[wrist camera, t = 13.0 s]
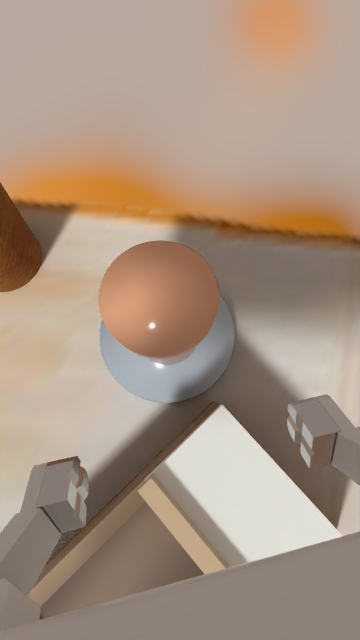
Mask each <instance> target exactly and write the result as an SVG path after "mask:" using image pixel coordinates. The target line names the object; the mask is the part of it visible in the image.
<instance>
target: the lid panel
mask: <svg viewBox="0 0 360 640" xmlns="http://www.w3.org/2000/svg"><path fill="white" fill-rule="evenodd" d="M138 492H139V494H140V495H141V496H142V497H143V499H144V500H145V501H146V502H147V504H148V505H149V506H150V507H151V509H152V510H153V511H154V512H155V514H156V515H157V516H158V517H159V518H160V520H161V521H162V522H163V523H164V525H165V526H166V527H167V528H168V530H169V531H170V532H171V533H172V535H173V536H174V537H175V538H176V540H177V541H178V542H179V543H180V545H181V546H182V547H183V548H184V549H185V551H186V552H187V553H188V554H189V556H190V557H191V558H192V559H193V561H194V562H195V563H196V564H197V566H198V567H199V568H200V569H201V571H202V572H203V573H204V574H208V573H211V572H215V571H219V570H222V569H226V568H230V567H233V566H237V565H240V564H244V563H248V562H251V561H255V560H259V559H262V558H266V557H270V556H273V555H277V554H280V553H284V552H288V551H291V550H295V549H299V548H302V547H306V546H310V545H313V544H317V543H321V542H324V541H328V540H331V539H335V538H339V537H342V534H341V533H340V532H339V531H338V530H337V529H336V528H335V527H334V526H333V525H332V524H331V522H330V521H329V520H328V519H327V518H326V517H325V516H324V515H323V514H322V513H321V512H320V510H319V509H318V508H317V507H316V506H315V505H314V504H313V503H312V502H311V501H310V500H309V498H308V497H307V496H306V495H305V494H304V493H303V492H302V491H301V490H300V489H299V488H298V487H297V485H296V484H295V483H294V482H293V481H292V480H291V479H290V478H289V477H288V476H287V475H286V473H285V472H284V471H283V470H282V469H281V468H280V467H279V466H278V465H277V464H276V463H275V461H274V460H273V459H272V458H271V457H270V456H269V455H268V454H267V453H266V452H265V451H264V449H263V448H262V447H261V446H260V445H259V444H258V443H257V442H256V441H255V440H254V439H253V437H252V436H251V435H250V434H249V433H248V432H247V431H246V430H245V429H244V428H243V427H242V425H241V424H240V423H239V422H238V421H237V420H236V419H235V418H234V417H233V416H232V415H231V414H230V412H229V411H228V410H227V409H226V408H225V407H224V406H223V405H222V404H220V405H219V406H218V407H217V408H216V409H215V410H214V411H213V412H212V413H211V414H210V415H209V416H208V417H207V418H206V419H205V420H204V421H203V422H202V423H201V424H200V425H199V426H198V427H197V428H196V429H195V430H194V431H193V432H192V433H191V434H190V435H189V436H188V437H187V438H186V439H185V440H184V441H183V442H182V443H181V444H180V445H179V446H178V447H177V448H176V449H175V450H174V451H173V452H172V453H171V454H170V455H168V456H167V457H166V458H165V459H164V460H163V461H162V462H161V463H160V464H159V465H158V466H157V467H156V468H155V469H154V470H153V471H152V472H151V473H150V474H149V475H148V476H147V477H146V478H145V480H144V482H143V483H142V484H141V485H140V487H139V489H138Z"/></svg>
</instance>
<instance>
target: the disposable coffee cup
mask: <svg viewBox="0 0 360 640" xmlns="http://www.w3.org/2000/svg"><path fill="white" fill-rule="evenodd" d="M40 263H41V249H40V245H39V243H38V241H37V239H36V238H35V237H34V235H33V233H32V232H31V230H30V229H29V227H28V226H27V224H26V222H25V221H24V219H23V218H22V216H21V214H20V213H19V211H18V210H17V208H16V207H15V205H14V203H13V202H12V200H11V199H10V197H9V196H8V194H7V192H6V191H5V190H4V188H3V187H2V185H1V183H0V292H8V291H12V290H15V289H18V288H20V287H22V286H24V285H25V284H26V283H28V282H29V281H30V280H31V279H32V278H33V277H34V275H35V274H36V273H37V271H38V268H39V266H40Z"/></svg>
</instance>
